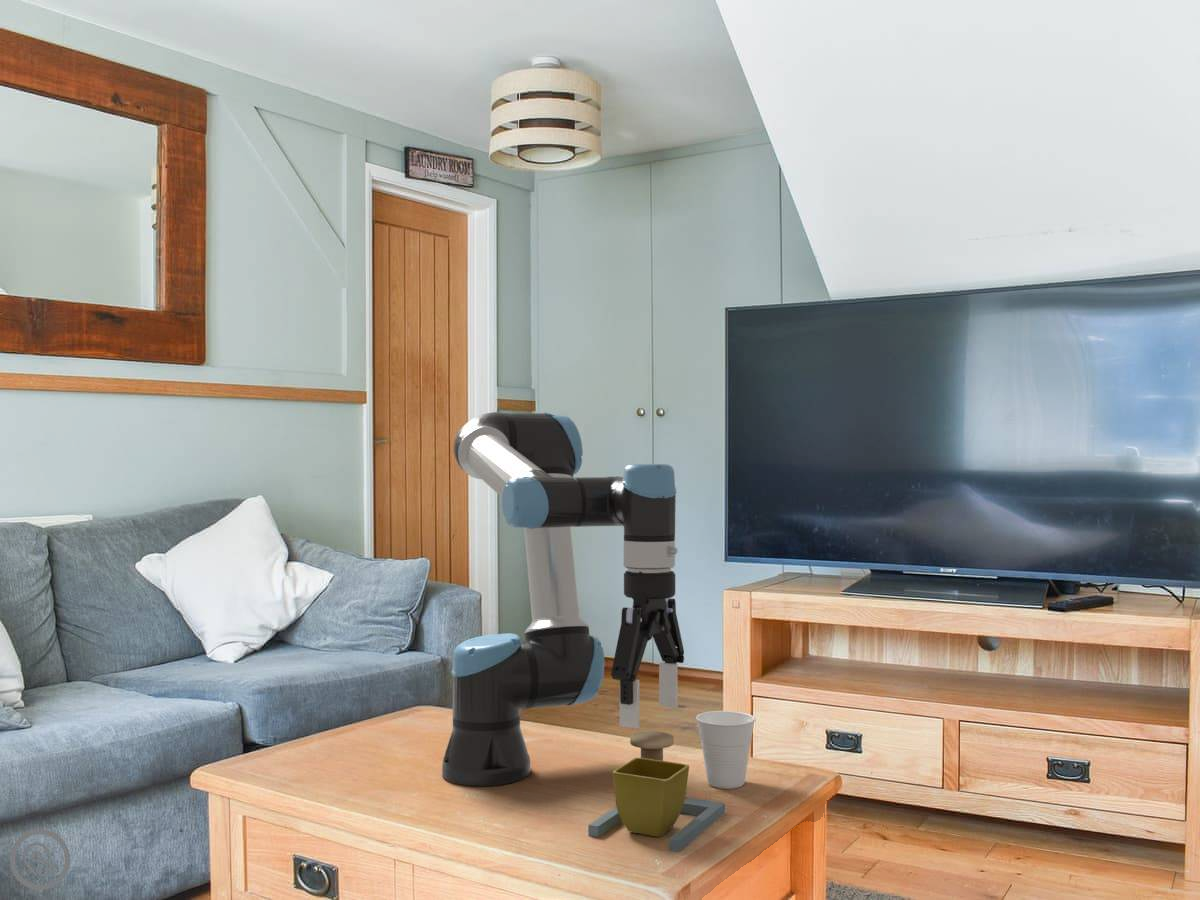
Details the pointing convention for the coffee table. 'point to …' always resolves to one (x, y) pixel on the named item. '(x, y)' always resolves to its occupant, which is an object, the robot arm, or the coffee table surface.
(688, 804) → the blue-grey u-shaped bracket
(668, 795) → the flower pot
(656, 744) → the bobbin
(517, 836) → the coffee table surface
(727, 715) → the cup
